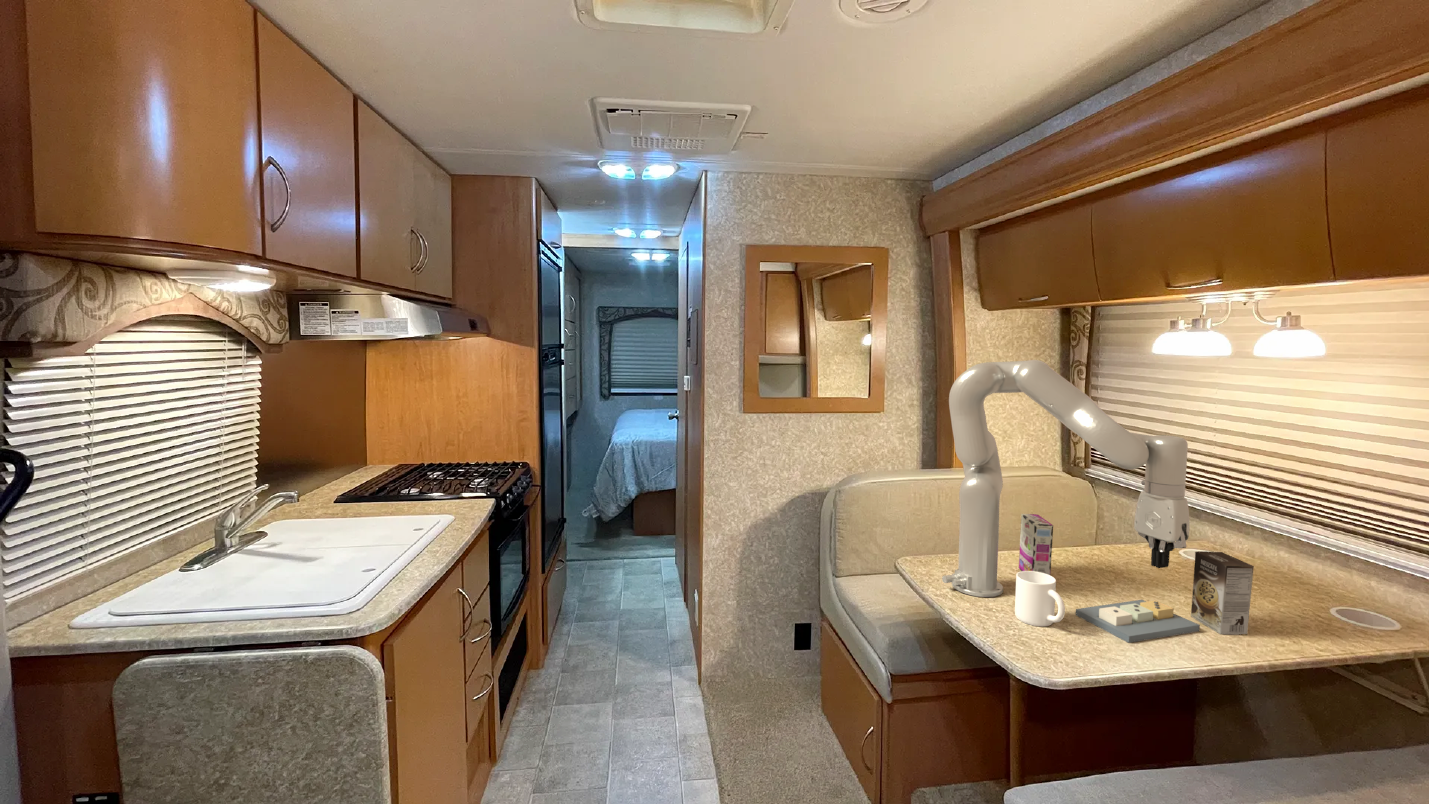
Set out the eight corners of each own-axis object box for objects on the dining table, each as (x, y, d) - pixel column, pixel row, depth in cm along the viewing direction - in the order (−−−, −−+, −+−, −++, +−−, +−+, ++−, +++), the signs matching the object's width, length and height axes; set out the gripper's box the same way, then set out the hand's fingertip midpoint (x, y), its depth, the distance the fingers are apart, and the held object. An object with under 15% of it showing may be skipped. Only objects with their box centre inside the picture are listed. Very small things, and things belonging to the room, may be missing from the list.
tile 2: (1137, 623, 138) (1137, 612, 137) (1119, 614, 142) (1120, 604, 142) (1152, 620, 139) (1153, 610, 138) (1134, 612, 143) (1135, 602, 143)
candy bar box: (1051, 584, 163) (1054, 525, 162) (1031, 583, 164) (1034, 524, 162) (1036, 568, 174) (1038, 513, 173) (1017, 568, 175) (1020, 512, 173)
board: (1128, 642, 131) (1129, 636, 131) (1075, 615, 145) (1075, 609, 144) (1199, 631, 136) (1199, 624, 136) (1141, 605, 150) (1141, 599, 149)
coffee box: (1189, 616, 143) (1193, 550, 142) (1216, 616, 143) (1221, 550, 142) (1219, 635, 134) (1225, 565, 133) (1249, 635, 134) (1255, 565, 133)
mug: (1076, 631, 137) (1078, 587, 136) (1048, 637, 134) (1050, 592, 133) (1033, 609, 148) (1035, 568, 147) (1006, 614, 145) (1008, 573, 144)
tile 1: (1116, 626, 136) (1116, 616, 136) (1098, 617, 140) (1099, 607, 140) (1131, 623, 137) (1132, 613, 137) (1114, 615, 141) (1114, 605, 141)
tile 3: (1157, 619, 139) (1158, 609, 139) (1139, 611, 143) (1140, 601, 143) (1173, 617, 140) (1173, 607, 140) (1154, 609, 144) (1155, 599, 144)
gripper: (1122, 483, 145) (1118, 557, 147) (1184, 498, 131) (1178, 580, 132) (1146, 481, 147) (1142, 554, 149) (1210, 496, 132) (1205, 576, 134)
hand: (1159, 566), depth 141 cm, fingers closed
